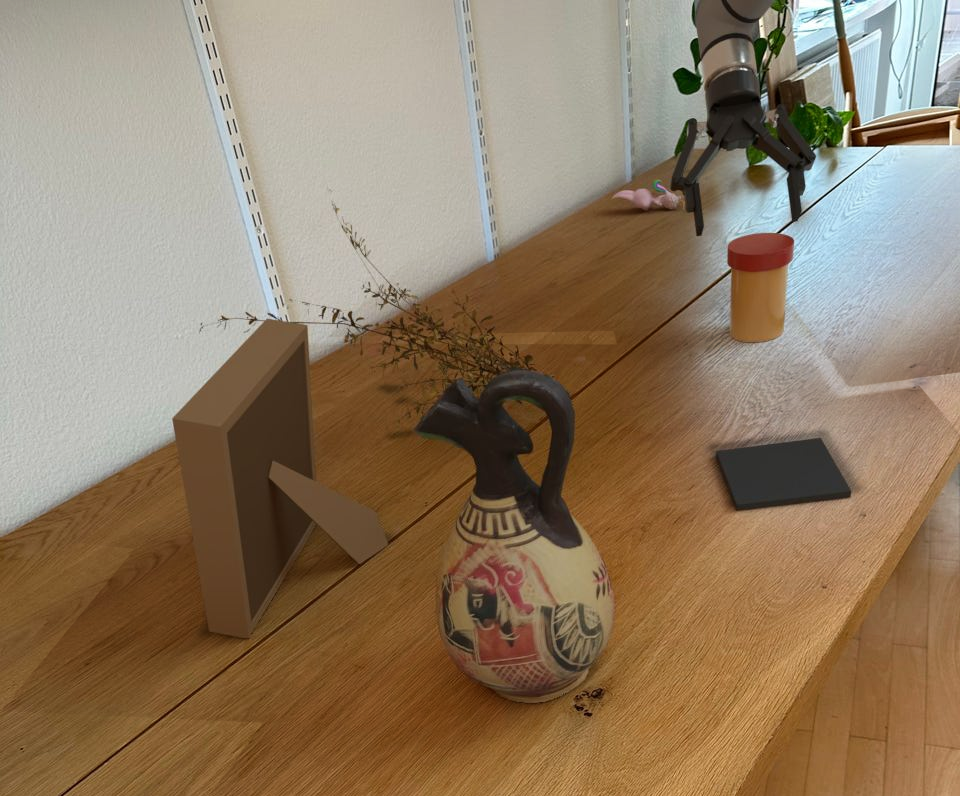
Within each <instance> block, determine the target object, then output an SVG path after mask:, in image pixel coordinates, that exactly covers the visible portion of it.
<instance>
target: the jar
mask: <svg viewBox="0 0 960 796" xmlns="http://www.w3.org/2000/svg"><path fill="white" fill-rule="evenodd" d="M788 275H789V264H787V265H785V266H783V267H780V268H777V269H773V270H767V271H757V272H749V271H740V270H736V269H733V268H731V267H730V298H729V299H730V301H729V302H730V304H729V305H730V306H729V336H730V337H731V338H732V339H733V340H736V341H739V342H743V343H763V342H769V341H772V340H775V339H777V338H779V337H781V336H782V335H783V333H784V331H785V321H786V305H787V291H788V290H787V289H788Z"/></svg>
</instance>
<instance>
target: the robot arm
mask: <svg viewBox="0 0 960 796" xmlns="http://www.w3.org/2000/svg"><path fill="white" fill-rule="evenodd" d="M693 1H694V13H695V14H694V25H695V28H696V37H697V42H698V51H699V58H700V64H701V73H702V83H703V89H704V92H705V93H704V100H705V108H706V115H707V121H698V120H697V119H696V118H695V117H691V118H689V120H688V123H687V124H688V125H687V129H686V139H685V142H684V144H683V146H682V150H681V152H680V154H679V157H678V160H677V163H676V165H675V167H674V171H673V173H672V175H671V179H670V186H669V189H670V191H671V192H677V191H680V192H682V194H681V195H683V196H684V198H685V207H684V208H685V211H686V213H687V214H690V213H693V220H694V227H695V235H696V237H701V236H703V232H704V229H705V223H704V222H705V221H704V215H703V205H702V197H701V190H700V182H699V181H700V179H701V177H702V176H703V175H704V173H705V172H706V170H707V169H708V167H710V164H711V163H712V161H713V160H714V159H715V158H716V157H717V156H718V154H719V153H720V151H721V150H726V151H725V152H731V151H735V150H736V149H741V150H743V149H749V147H750V146H752V147H753V148H754V149H755V150H757V151H761V152H762V153H764V154H765V155H766V156H768V157H769V159H771V160H772V161H773V162H775V163H776V165H778V166H780V167H781V168H782V169H783V170H785V172H787V173H788V174H787V177H786V184H787V185H786V186H787V193H788V200H789V209H790V217H791V222H792V223H795V222H796V223H797V222H798V221H799V219H800V217H801V214H802V212H803V209H802V201H801V196H802V197H803V196H804V193H805V191H806V187H807V186H806V185H807V184H806V176H805V172H806V171H808V172H809V171H811V170H812V168H813V165H814V164H815V161H816V159H817V155H816V153H815V151H813V148H811V146H810V145H809V144H808V142H807V141H806V139H805V138H804V137H803V136H802V134H801V133H800V132H799V130H798V129H797V127H796V126H795V125H794V123H793V122H792V121H791V119H790V118H789V116H788V112H787V108H786V105H785V104H784V103H779V104H777V106H776V108H775V109H771V110H767V111H765V110H764V109H763V106H762V100H761V99H762V98H761V91H760V83H759V78H758V68H757V61H756V53H755V47H754V46H755V45H754V44H755V43H754V40H753V29H754V27H755V26H756V24H757V23H758V22H759V21H760V20H761V19H762V17H764V15H765V14H766V13H767V11H768V10H769V9H770V8H771V7H772V5H773V4H774V3H775V2H776V1H777V0H693ZM765 123H768V124H769V125H771V128H772V129H775V130H776V133H777V134H778V136H779V137H780V138H781V140H782V141H783V143H782V142H781V141H780V140H779V139H777V138H776V137H775V136H774V135H772V133H771V132H770V130H769V129H768V128H767V127H766V126H765ZM704 133H706V135H707V136H708V137H709V138H711V139H710V141H709V143H708V145H707V146H706V148H705V149H704V150H703V152H702V153H701V155H700V156H699V158H698V160H697V161H696V162H695V164H694V165H693V166H692V168H691V169H690V171H689V172H688V174H687V175H686V177H685V176H684V175H685V172H686V169H687V167H688V164H689V162H690V159H691V156H692V153H693V151H694V149H695V144H696V141H698V140H700V139H701V137H702V135H703V134H704Z"/></svg>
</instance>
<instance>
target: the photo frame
mask: <svg viewBox="0 0 960 796" xmlns="http://www.w3.org/2000/svg"><path fill="white" fill-rule="evenodd" d="M292 322H293V321H284V320H281V321H279V320H277V319H276V320H275V319H274V318H266V319H265V321H262V323H261V324H260V325H259V326H258V327H257V328H256V329H255V330H254V331H253V332H252V334H250V336H248V338H247V339H246V340H245V341H244V342H243V343H242V344H240V346H239V347H238V348H237V350H235V351H234V352H233V354H232V355H231V356H230V357H229V358H228V359H227V360H226V361H225V362H224V363H223V364H222V365H221V366H220V368H218V369H217V370H216V372H215V373H213V375H212V376H211V377H210V378H209V379H208V380H207V381H206V382H205V383H204V384H203V385H202V386H201V387H200V389H198V391H197V392H196V393H194V394H193V395H192V396H191V398H190V399H189V400H188V401H187V402H186V403H185V404H184V405H183V406H182V407H181V408H180V409H179V411H177V413H176V414H174V415H173V417H172V418H171V421H172V425H173V432H174V438H175V443H176V449H177V455H178V460H179V467H180V471H181V472H180V473H181V477H182V483H183V489H184V495H185V500H186V506H187V512H188V518H189V523H190V529H191V534H192V541H193V547H194V552H195V558H196V563H197V569H198V574H199V581H200V587H201V591H202V597H203V603H204V609H205V615H206V620H207V627H208V632H211V633H215V634H220V635H224V636H230V637H235V638H241V639H245V638H249V637H250V635H251V633H252V632H253V630H254V628H255V627H256V625H257V623H258V622H259V620H260V618H261V617H262V615H263V613H264V612H265V610H266V608H267V607H268V605H269V603H270V602H271V603H272V601H273V600H272V598H273V597H274V598H275V596H276V595H275V593H276V592H277V593H278V591H279V590H278V588H279V587H280V588H281V586H282V585H281V584H283V583H284V581H285V580H284V579H286V578H287V576H288V574H289V573H290V571H291V569H292V568H293V566H294V564H295V563H296V561H297V559H298V558H297V557H299V556H300V555H301V553H302V551H303V549H304V547H305V546H306V544H307V542H308V541H309V539H310V537H311V536H310V535H312V534H313V532H314V531H313V529H314V528H315V529H316V527H317V526H318V527H319V529H321V530H322V531H323V532H324V533H325V534H326V535H327V536H328V537H329V538H330V540H332V541H333V542H334V543H335V544H336V545H337V546H339V548H341V550H343V551H344V552H345V554H347V555H348V556H349V557H350V559H352V560H353V561H354V562H355V563H356V564H357V563H358V564H357V565H361V564H362V563H364V562H365V561H367V560H369V559H370V558H371V557H373V556H374V555H376V554H377V553H379V552H380V551H382V550H383V549H384V548H386V547H387V546H388V545H389V542H388V540H387V537H386V534H385V531H384V530H383V526H382V524H381V522H380V519H379V516H378V513H377V511H376V510H374V509H372V508H370V507H368V506H366V505H364V504H362V503H360V502H359V501H356V500H354V499H351V498H350V497H347V496H345V495H343V494H341V493H340V492H339V491H335V490H333V489H332V488H329V487H327V486H326V485H323V484H321V483H320V482H318V481H317V472H316V470H317V469H316V455H315V435H314V417H313V401H312V400H313V399H312V384H311V383H312V382H311V365H310V347H309V346H310V345H309V331H308V330H309V328H308V324H305V323H292ZM316 525H317V526H316ZM315 526H316V527H315ZM315 529H314V530H315ZM312 531H313V532H312ZM311 533H312V534H311ZM308 538H309V539H308ZM307 540H308V541H307ZM304 545H305V546H304ZM302 548H303V549H302ZM301 550H302V551H301ZM300 552H301V553H300ZM298 555H299V556H298ZM295 560H296V561H295ZM294 562H295V563H294ZM293 563H294V564H293ZM291 567H292V568H291ZM290 568H291V569H290ZM288 572H289V573H288ZM287 573H288V574H287ZM286 575H287V576H286ZM285 577H286V578H285ZM283 580H284V581H283ZM282 582H283V583H282ZM280 585H281V586H280ZM280 588H279V589H280ZM277 590H278V591H277ZM277 593H276V594H277ZM274 595H275V596H274ZM274 598H273V599H274ZM271 600H272V601H271ZM271 603H270V604H271ZM269 606H270V605H269ZM268 608H269V607H268ZM268 608H267V609H268ZM266 611H267V610H266ZM265 613H266V612H265ZM265 613H264V614H265ZM263 616H264V615H263ZM262 618H263V617H262ZM262 618H261V619H262ZM260 621H261V620H260ZM259 623H260V622H259ZM259 623H258V624H259ZM257 626H258V625H257ZM256 628H257V627H256ZM256 628H255V629H256ZM254 631H255V630H254ZM253 633H254V632H253ZM253 633H252V634H253ZM251 636H252V635H251ZM250 638H251V637H250Z"/></svg>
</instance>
